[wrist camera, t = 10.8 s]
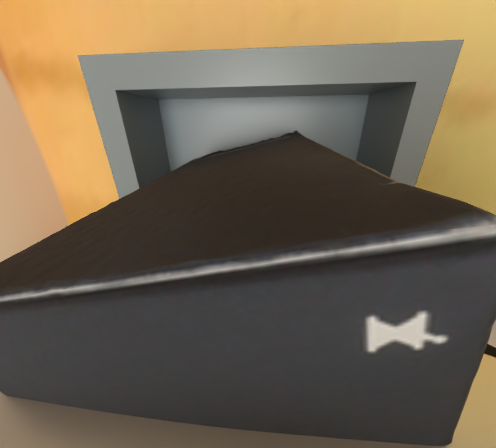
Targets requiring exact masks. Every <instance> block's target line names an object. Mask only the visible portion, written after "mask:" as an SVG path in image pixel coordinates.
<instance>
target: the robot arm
mask: <svg viewBox="0 0 496 448" xmlns="http://www.w3.org/2000/svg"><path fill="white" fill-rule="evenodd" d="M0 448H496V321H495V322H494V324H493V327H492V331H491V334H490V338H489V341H488V343H487V346H486V349H485V352H484V355H483V358H482V361H481V364H480V367H479V369H478V371H477V374H476V376H475V378H474V380H473V383H472V386H471V389H470V392H469V395H468V398H467V400H466V403H465V406H464V408H463V411H462V414H461V416H460V419H459V422H458V424H457V427H456V429H455V432H454V436H453V439H452V443H451V444H448V445H446V446H427V445H414V444H401V443H389V442H377V441H365V440H351V439H338V438H327V437H316V436H304V435H293V434H282V433H270V432H260V431H251V430H240V429H231V428H222V427H212V426H204V425H196V424H188V423H180V422H172V421H164V420H157V419H150V418H143V417H136V416H129V415H122V414H115V413H108V412H101V411H95V410H89V409H82V408H76V407H70V406H64V405H58V404H52V403H46V402H40V401H34V400H28V399H22V398H16V397H10V396H6V395H4V394H3V393H2V392H0Z"/></svg>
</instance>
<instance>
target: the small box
mask: <svg viewBox="0 0 496 448" xmlns="http://www.w3.org/2000/svg"><path fill="white" fill-rule="evenodd" d="M495 321H496V215H494V214H492V213H489V212H487V211H485V210H482V209H480V208H477V207H475V206H473V205H470V204H468V203H465V202H462V201H459V200H456V199H453V198H450V197H446V196H443V195H440V194H436V193H433V192H429V191H426V190H422V189H419V188H416V187H414V186H411V185H407V184H404V183H401V182H398V181H396V180H394V179H391V178H389V177H387V176H385V175H383V174H381V173H379V172H378V171H377V170H375V169H372V168H370V167H367V166H365V165H363V164H361V163H360V162H358V161H355V160H353V159H351V158H348V157H345V156H343V155H342V154H340V153H338V152H335V151H334V150H332V149H329V148H327V147H325V146H323V145H321V144H319V143H316V142H315V141H313V140H311V139H308V138H306V137H305V136H303V135H302V134H301V133H299V132H298V131H297V130H296V131H294V132H293V133H287V134H284V135H282V136H281V137H278V138H269V139H268V140H262V141H260V142H258V143H256V144H254V143H252V144H250V145H245V146H242V147H236V148H233V149H230V150H226V151H222V150H220V151H217V152H213V153H210V154H207V155H205V156H202V157H199V158H196V159H193V160H191V161H190V162H188V163H186V164H184V165H182V166H180V167H179V168H177V169H175V170H173V171H171V172H169V173H167V174H166V175H164V176H162V177H159V178H158V179H156V180H154V181H153V182H151V183H149V184H147V185H144V186H143V187H141V188H139V189H137V190H136V191H134V192H132V193H130V194H128V195H126V196H124V197H122V198H120V199H119V200H117V201H115V202H112V203H110V204H109V205H107V206H106V207H104V208H102V209H100V210H98V211H97V212H94V213H91V214H89V215H88V216H86V217H84V218H82V219H80V220H78V221H76V222H74V223H73V224H71V225H69V226H67V227H66V228H64V229H62V230H60V231H58V232H56V233H54V234H52V235H50V236H49V237H47V238H45V239H43V240H41V241H40V242H38V243H36V244H34V245H32V246H30V247H28V248H27V249H25V250H23V251H21V252H19V253H17V254H15V255H13V256H12V257H10V258H8V259H6V260H4V261H2V262H0V392H2V393H3V394H4V395H6V396H10V397H16V398H22V399H28V400H34V401H40V402H46V403H52V404H58V405H64V406H70V407H76V408H82V409H89V410H95V411H101V412H108V413H115V414H122V415H129V416H136V417H143V418H150V419H157V420H164V421H172V422H180V423H188V424H196V425H204V426H212V427H222V428H231V429H240V430H251V431H260V432H270V433H282V434H293V435H304V436H316V437H327V438H338V439H351V440H365V441H377V442H389V443H401V444H414V445H427V446H446V445H448V444H451V443H452V439H453V436H454V432H455V429H456V427H457V424H458V422H459V419H460V416H461V414H462V411H463V408H464V406H465V403H466V400H467V398H468V395H469V392H470V389H471V386H472V383H473V380H474V378H475V376H476V374H477V371H478V369H479V367H480V364H481V361H482V358H483V355H484V352H485V349H486V346H487V343H488V341H489V338H490V334H491V331H492V327H493V324H494V322H495Z"/></svg>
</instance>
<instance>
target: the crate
mask: <svg viewBox="0 0 496 448" xmlns="http://www.w3.org/2000/svg"><path fill="white" fill-rule="evenodd" d="M463 42H464V40H446V41H422V42H397V43H372V44H348V45H323V46H298V47H273V48H249V49H224V50H199V51H175V52H150V53H125V54H100V55H78V58H79V62H80V65H81V69H82V72H83V75H84V79H85V82H86V86H87V89H88V92H89V96H90V99H91V103H92V106H93V110H94V113H95V116H96V120H97V123H98V127H99V130H100V133H101V137H102V140H103V144H104V147H105V150H106V154H107V157H108V161H109V164H110V168H111V171H112V174H113V178H114V181H115V185H116V188H117V191H118V195H119V198H122V197H124V196H126V195H128V194H130V193H132V192H134V191H136V190H137V189H139V188H141V187H143V186H144V185H147V184H149V183H151V182H153V181H154V180H156V179H158V178H159V177H162V176H164V175H166V174H167V173H169V172H171V171H173V170H175V169H177V168H179V167H180V166H182V165H184V164H186V163H188V162H190V161H191V160H193V159H196V158H199V157H202V156H205V155H207V154H210V153H213V152H217V151H220V150H222V151H226V150H230V149H233V148H236V147H242V146H245V145H250V144H252V143H254V144H256V143H258V142H260V141H262V140H268V139H269V138H278V137H281V136H282V135H284V134H287V133H293V132H294V131H296V130H297V131H298V132H299V133H301V134H302V135H303V136H305V137H306V138H308V139H311V140H313V141H315V142H316V143H319V144H321V145H323V146H325V147H327V148H329V149H332V150H334V151H335V152H338V153H340V154H342V155H343V156H345V157H348V158H351V159H353V160H355V161H358V162H360V163H361V164H363V165H365V166H367V167H370V168H372V169H375V170H377V171H378V172H379V173H381V174H383V175H385V176H387V177H389V178H391V179H394V180H396V181H398V182H401V183H404V184H407V185H411V186H414V187H415V184H416V181H417V179H418V176H419V173H420V170H421V167H422V164H423V161H424V158H425V155H426V152H427V149H428V146H429V143H430V140H431V137H432V134H433V131H434V128H435V125H436V122H437V119H438V116H439V113H440V110H441V107H442V104H443V101H444V98H445V95H446V92H447V89H448V86H449V83H450V80H451V77H452V74H453V71H454V68H455V65H456V62H457V59H458V56H459V53H460V50H461V47H462V44H463Z"/></svg>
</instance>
